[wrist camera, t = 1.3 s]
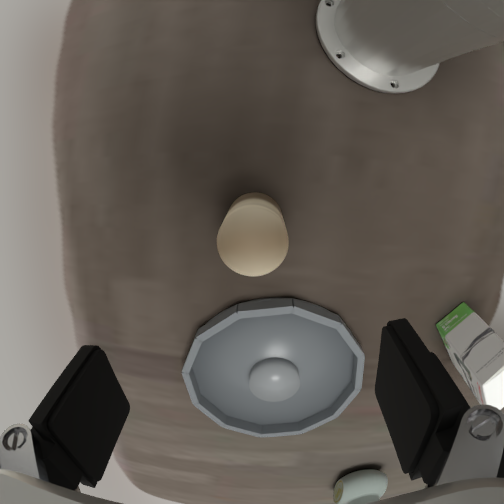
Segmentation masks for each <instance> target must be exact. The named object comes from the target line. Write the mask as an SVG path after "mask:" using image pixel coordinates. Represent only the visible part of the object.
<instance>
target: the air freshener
mask: <svg viewBox="0 0 504 504" xmlns="http://www.w3.org/2000/svg"><path fill="white" fill-rule="evenodd" d="M387 483H388V479H387V476H386V474H385V473H383V472H381V471H378V470H373V469H366V470H359V471H355V472H352V473H350V474H348V475H346V476H344V477H342V478H341V479H339V480H338V481H337V483H336V485H335V488H334V494H333V498H334V502H335V504H366V503H371V502H375V501H379V498H380V497H381V496H382V495H383V494H384V492H385V490H386V488H387Z"/></svg>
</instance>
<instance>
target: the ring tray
mask: <svg viewBox="0 0 504 504" xmlns="http://www.w3.org/2000/svg"><path fill="white" fill-rule="evenodd" d="M364 359H365V355H364V352H363V350H362V348H361V346H360V344H359V343H358V341H357V340H356V339H355V337H354V336H353V334H352V332H351V331H350V329H349V328H348V327H347V325H346V324H345V323H344V322H343V320H342V319H341V318H340V316H338V315H337V314H334V313H332V312H330V311H329V310H327V309H325V308H323V307H321V306H319V305H317V304H314V303H311V302H307V301H304V300H299V299H294V298H281V297H274V298H261V299H255V300H250V301H247V302H243V303H239V304H236V305H235V306H232V307H230V308H227V309H226V310H224V311H222V312H220V313H219V314H217V315H216V316H214V317H213V318H212V319H210V320H209V321H208V322H207V323H206V324H205V325H204V326H202V327H201V328H199V329H198V330H197V333H196V335H195V338H194V340H193V343H192V345H191V348H190V351H189V353H188V356H187V358H186V361H185V363H184V366H183V369H182V375H183V378H184V381H185V384H186V387H187V390H188V392H189V395H190V398H191V401H192V403H193V405H194V406H195V407H197V408H198V409H199V410H200V411H202V412H203V413H204V414H205V415H207V416H208V417H209V418H211V419H212V420H213V421H214V422H216V423H217V424H218V425H220V426H221V427H223V428H226V429H230V430H233V431H237V432H241V433H245V434H248V435H252V436H256V437H275V436H287V435H297V434H301V433H302V434H303V433H305V432H307V431H309V430H312V429H314V428H316V427H318V426H320V425H322V424H325V423H327V422H329V421H331V420H333V419H335V418H337V417H338V416H339V415H340V414H341V413H342V411H343V410H344V409H345V408H346V407H347V406H348V405H349V403H350V402H351V401H352V400H353V399H354V397H355V396H356V395H357V394H358V393H359V391H360V390H361V387H362V378H363V369H364Z"/></svg>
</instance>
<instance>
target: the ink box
mask: <svg viewBox="0 0 504 504" xmlns="http://www.w3.org/2000/svg"><path fill="white" fill-rule="evenodd" d="M436 327H437V329H438V331H439V333H440V335H441V337H442V340H443V342H444V344H445V347H446V349H447V351H448V354H449V356H450V358H451V361H452V363H453V364H454V366H455V367H456V369H457V370H458V371H459V373H460V374H461V376H462V377H463V379H464V380H465V382H466V383H467V385H468V386H469V388H470V389H471V391H472V392H473V394H474V395H475V397H476V398H477V400H478V401H479V403H480V405H482V404H483V405H491V406H494V407H496V408H498V409H499V410H500V409H502V408H503V407H504V341H503V340H502V339H501V338H500V337H499V336H498V335H497V334H496V333H495V332H494V331H493V330H492V329H491V328H490V327H489V326H488V325H487V324H486V323H485V322H484V321H483V320H482V319H481V318H480V317H479V316H478V315H477V314H476V313H475V312H474V311H473V310H472V309H471V308H470V307H469V306H468V305H467V304H466V303H465V302H463V303H461V304H460V305H459V306H458V307H457V308H455V309H454V310H453V311H452V312H451V313H449V314H448V315H447V316H446V317H445V318H443V319H442V320H441V321H440V322H438V323H437V324H436Z"/></svg>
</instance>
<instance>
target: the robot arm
mask: <svg viewBox="0 0 504 504" xmlns="http://www.w3.org/2000/svg"><path fill="white" fill-rule="evenodd" d="M327 5H329V6H327ZM316 29H317V34H318V38H319V40H320V43H321V45H322V48H323V49H324V51H325V52H326V54H327V56H328V57H329V59H330V60H331V61H332V62H333V63H334V64H335V66H336V67H337V68H338V69H339V70H340V71H342V72H343V73H344V74H345V75H346V76H347V77H349V78H350V79H352V80H353V81H355V82H357V83H358V84H360V85H362V86H364V87H367V88H369V89H371V90H375V91H378V92H382V93H391V94H398V93H406V92H410V91H414V90H416V89H418V88H420V87H422V86H424V85H425V84H426V83H428V82H429V81H430V80H431V79H432V77H433V76H434V75H435V73H436V72H437V69H438V67H439V64H440V62H443V61H446V60H448V59H451V58H454V57H457V56H460V55H463V54H466V53H469V52H472V51H475V50H478V49H481V48H484V47H488V46H491V45H494V44H498V43H501V42H504V0H321V1H320V3H319V6H318V9H317V13H316ZM336 55H340V57H341V59H339V58H338V57H336ZM391 83H392V84H393V87H392V86H391ZM375 394H376V398H377V400H378V403H379V406H380V408H381V411H382V414H383V416H384V419H385V422H386V424H387V427H388V430H389V433H390V436H391V438H392V441H393V444H394V447H395V450H396V453H397V456H398V458H399V461H400V464H401V467H402V470H403V472H404V473H405V474H407V473H409V475H410V478H411V480H414V479H418V478H421V477H422V478H423V481H424V483H426V486H425V488H424V489H422V490H419V491H415V492H411V493H407V494H403V495H399V496H396V497H392V498H388V499H384V500H380V501H375V502H371V503H366V504H504V414H503V413H502V411H500V410H499V409H498V408H496V407H494V406H491V405H483V404H482V405H477V406H474V407H472V408H470V406H469V405H468V403H467V401H466V400H465V398H464V397H463V395H462V394H461V392H460V390H459V389H458V387H457V386H456V384H455V383H454V381H453V380H452V378H451V377H450V375H449V374H448V372H447V371H446V369H445V368H444V366H443V365H442V363H441V362H440V360H439V359H438V357H437V356H436V355H435V354H434V353H432V352H429V350H428V349H427V347H426V346H425V344H424V343H423V342H422V340H421V339H420V337H419V336H418V334H417V333H416V332H415V330H414V329H413V327H412V326H411V325H410V323H409V322H408V320H407V319H405V318H403V319H398V320H393V321H389V322H388V323H387V326H385V327H383V328H382V335H381V345H380V354H379V362H378V370H377V377H376V384H375ZM129 411H130V405H129V402H128V400H127V398H126V396H125V394H124V392H123V390H122V388H121V386H120V384H119V382H118V380H117V378H116V376H115V374H114V372H113V369H112V367H111V365H110V363H109V361H108V358H107V356H106V354H105V352H104V351H103V350H101V348H100V347H99V346H93V345H84V346H82V347H81V348H80V350H79V351H78V352H77V354H76V355H75V356H74V358H73V359H72V360H71V362H70V363H69V364H68V366H67V367H66V369H65V370H64V371H63V372H62V374H61V375H60V376H59V378H58V379H57V381H56V382H55V383H54V385H53V386H52V387H51V389H50V390H49V392H48V393H47V395H46V396H45V397H44V399H43V400H42V402H41V403H40V405H39V406H38V407H37V409H36V410H35V412H34V413H33V415H32V416H31V418H30V419H29V422H30V424H31V425H32V426H33V427H32V429H31V430H30V429H29V428H28V426H26V425H24V424H15V425H12V426H10V427H8V428H7V429H6V430H5V431H4V432H3V433H2V435H1V437H0V504H122V503H118V502H113V501H109V500H105V499H101V498H97V497H94V496H90V495H86V494H83V493H81V492H80V489H79V487H78V485H79V483H80V482H81V483H82V484H83V485H87V486H90V487H93V488H95V486H96V484H97V481H100V480H101V478H102V476H103V474H104V471H105V469H106V466H107V464H108V461H109V459H110V456H111V454H112V452H113V449H114V447H115V444H116V442H117V440H118V437H119V435H120V433H121V430H122V428H123V425H124V423H125V421H126V418H127V416H128V414H129Z"/></svg>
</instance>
